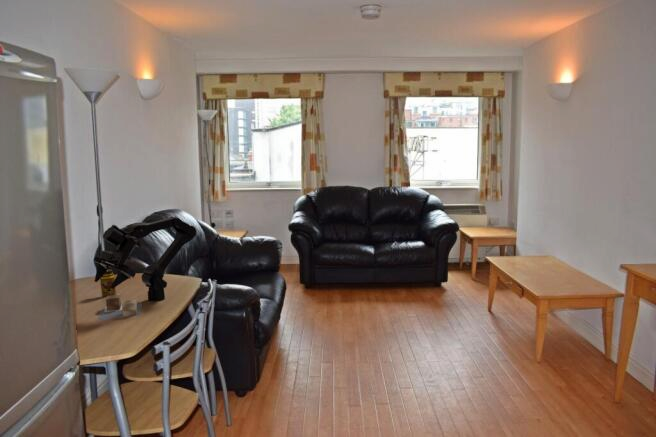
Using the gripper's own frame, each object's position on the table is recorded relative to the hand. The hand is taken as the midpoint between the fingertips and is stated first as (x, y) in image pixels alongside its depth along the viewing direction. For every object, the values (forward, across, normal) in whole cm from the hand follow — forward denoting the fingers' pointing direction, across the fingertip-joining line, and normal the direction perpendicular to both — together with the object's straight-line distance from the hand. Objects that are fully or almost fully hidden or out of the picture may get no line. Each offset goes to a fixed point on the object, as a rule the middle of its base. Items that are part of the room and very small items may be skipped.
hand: (103, 285), depth 218 cm
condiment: (0, -20, +27) cm, 33 cm away
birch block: (+6, +12, +8) cm, 16 cm away
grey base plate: (+6, +6, +10) cm, 14 cm away
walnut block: (+6, 0, +12) cm, 13 cm away
